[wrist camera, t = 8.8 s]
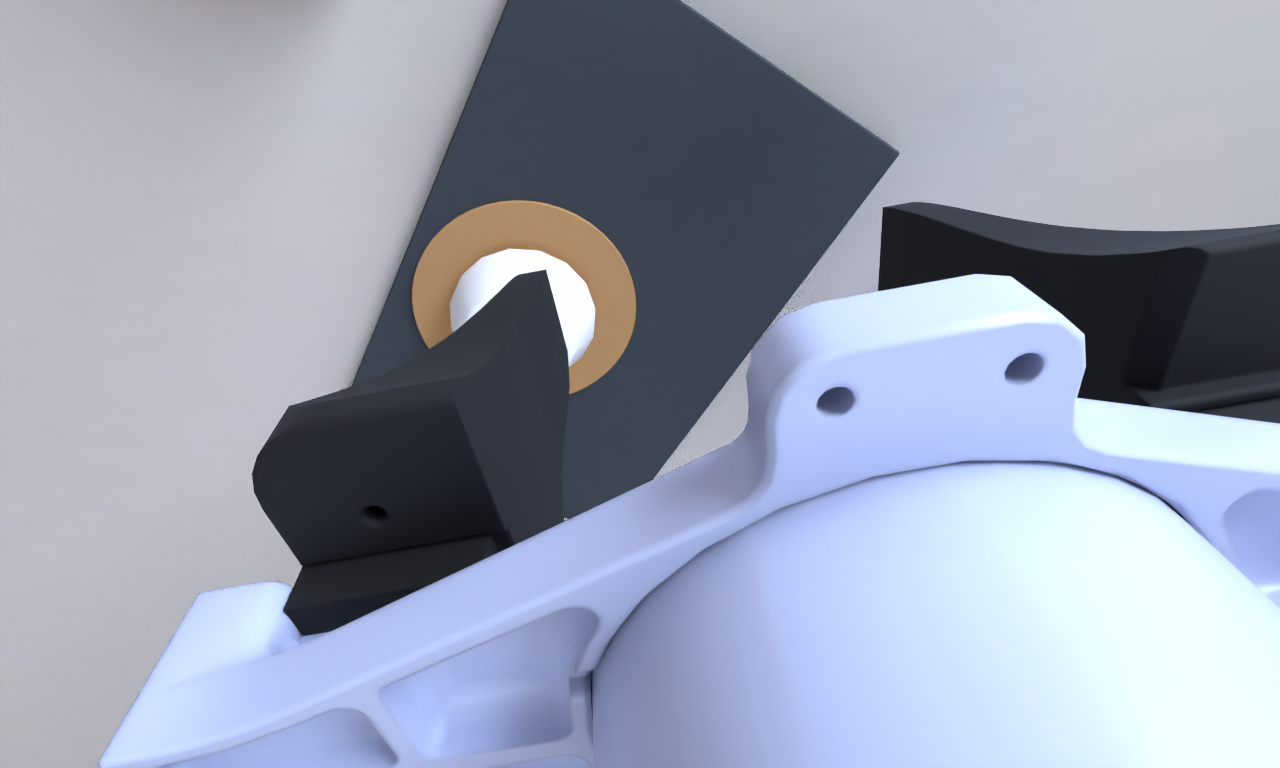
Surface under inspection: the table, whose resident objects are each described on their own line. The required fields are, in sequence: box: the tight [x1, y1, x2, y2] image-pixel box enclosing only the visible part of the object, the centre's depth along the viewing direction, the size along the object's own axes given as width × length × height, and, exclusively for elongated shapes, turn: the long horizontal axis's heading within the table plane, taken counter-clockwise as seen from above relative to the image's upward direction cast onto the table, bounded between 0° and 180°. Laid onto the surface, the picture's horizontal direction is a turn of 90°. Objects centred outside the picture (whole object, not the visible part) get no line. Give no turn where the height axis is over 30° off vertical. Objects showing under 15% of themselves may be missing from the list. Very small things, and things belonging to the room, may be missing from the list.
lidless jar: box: [450, 249, 595, 367], centre depth 22 cm, size 5×3×5 cm
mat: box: [352, 0, 899, 519], centre depth 24 cm, size 13×20×1 cm, turn 150°
